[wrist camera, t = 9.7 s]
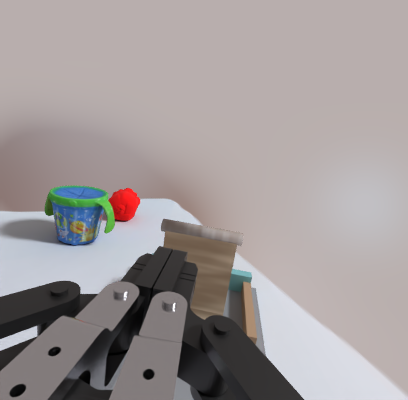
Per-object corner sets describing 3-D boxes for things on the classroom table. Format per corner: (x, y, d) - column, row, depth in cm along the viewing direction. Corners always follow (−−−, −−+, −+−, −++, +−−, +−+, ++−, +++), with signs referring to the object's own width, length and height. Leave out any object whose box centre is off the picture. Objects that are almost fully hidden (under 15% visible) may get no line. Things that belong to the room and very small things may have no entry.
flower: (98, 201, 62) (107, 193, 70) (111, 229, 64) (117, 218, 72) (129, 192, 62) (134, 184, 70) (140, 220, 65) (144, 209, 72)
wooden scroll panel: (221, 345, 30) (243, 235, 27) (148, 330, 31) (161, 220, 28) (224, 292, 41) (240, 209, 38) (170, 281, 42) (181, 198, 38)
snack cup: (125, 241, 55) (128, 196, 52) (84, 260, 45) (87, 205, 43) (73, 222, 60) (74, 181, 58) (28, 235, 51) (27, 186, 48)
